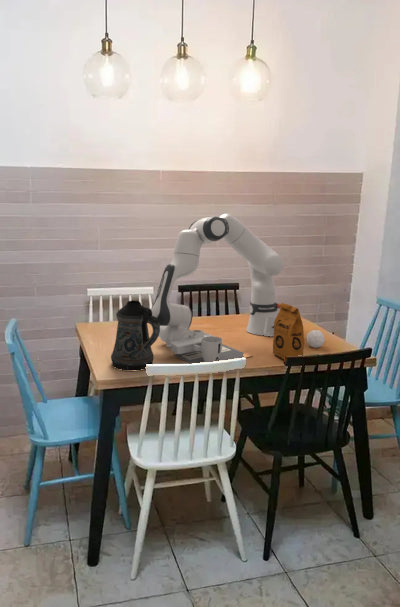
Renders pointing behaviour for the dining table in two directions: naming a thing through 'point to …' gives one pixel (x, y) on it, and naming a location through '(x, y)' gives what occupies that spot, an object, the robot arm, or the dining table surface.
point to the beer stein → (134, 337)
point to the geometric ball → (315, 338)
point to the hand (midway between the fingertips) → (205, 349)
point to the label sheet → (198, 355)
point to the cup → (211, 348)
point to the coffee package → (288, 332)
